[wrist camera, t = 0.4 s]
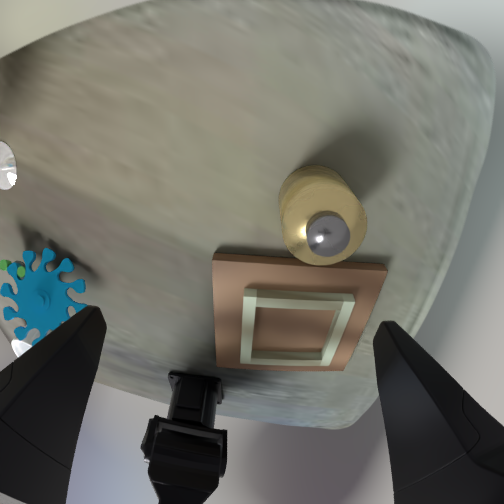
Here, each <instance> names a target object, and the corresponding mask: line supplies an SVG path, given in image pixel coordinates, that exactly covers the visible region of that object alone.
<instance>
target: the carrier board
mask: <svg viewBox="0 0 504 504" xmlns="http://www.w3.org/2000/svg"><path fill="white" fill-rule="evenodd" d="M212 272H213V302H214V325H215V345H216V363H217V367H224V368H237V369H252V370H273V371H343V370H344V368H345V367H346V365H347V363H348V361H349V359H350V357H351V355H352V353H353V351H354V349H355V347H356V345H357V342H358V340H359V338H360V336H361V334H362V332H363V330H364V327H365V325H366V323H367V321H368V319H369V316H370V314H371V312H372V309H373V307H374V305H375V302H376V300H377V298H378V295H379V293H380V290H381V288H382V285H383V283H384V280H385V278H386V275H387V272H388V270H387V269H386V267H385V265H384V264H375V263H360V262H344V261H340V262H337V263H334V264H330V265H312V264H308V263H305V262H303V261H301V260H299V259H298V258H283V257H268V256H253V255H239V254H224V253H214V255H213V259H212Z"/></svg>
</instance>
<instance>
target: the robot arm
mask: <svg viewBox="0 0 504 504" xmlns="http://www.w3.org/2000/svg"><path fill="white" fill-rule="evenodd" d="M106 329H107V326H106V322H105V320H104V317H103V315H102V312H101V310H100V308H99V307H97V306H91V305H88V306H86V307H84V308H83V309H82V310H80V311H79V312H77V313H76V314H75V315H73V316H72V317H71V318H69V319H68V320H67V321H65V322H64V323H62V324H61V325H60V326H58V327H57V328H56V329H54V330H53V331H52V332H50V333H49V334H48V335H46V336H45V337H44V338H43V339H41V340H40V341H39V342H37V343H36V344H35V345H33V346H32V347H31V348H30V349H28V350H27V351H26V352H24V353H23V354H22V355H21V356H19V357H18V358H17V359H16V360H14V362H12V363H11V364H9V365H8V366H7V367H6V368H4V369H3V370H2V371H1V372H0V504H66V498H67V491H68V485H69V479H70V474H71V468H72V462H73V458H74V453H75V449H76V444H77V440H78V436H79V432H80V428H81V424H82V420H83V416H84V413H85V409H86V405H87V402H88V398H89V395H90V392H91V388H92V385H93V382H94V379H95V376H96V372H97V369H98V365H99V360H100V356H101V351H102V347H103V343H104V338H105V334H106ZM373 349H374V357H375V367H376V377H377V386H378V391H379V396H380V401H381V406H382V412H383V417H384V423H385V429H386V436H387V442H388V449H389V455H390V464H391V472H392V481H393V491H394V504H504V426H503V425H502V424H500V423H499V422H498V421H497V420H496V419H495V418H493V417H492V416H491V415H490V414H489V413H488V412H487V411H486V410H485V409H484V408H482V407H481V406H480V405H479V404H478V403H477V402H476V401H475V400H474V399H473V398H472V397H471V396H470V395H469V394H468V393H467V392H466V391H465V390H463V388H462V387H461V386H460V385H459V384H458V382H457V381H456V380H455V379H454V378H453V377H451V375H450V374H449V373H447V371H445V369H444V368H443V367H442V366H441V365H440V364H439V363H438V362H437V361H436V360H435V359H433V357H432V356H430V355H429V354H428V353H427V352H426V351H425V350H424V349H423V348H422V347H421V346H420V345H419V344H418V343H417V342H416V341H415V340H414V339H413V338H412V337H411V336H410V335H409V334H408V333H407V332H406V331H404V330H403V329H402V328H401V327H400V326H399V325H398V324H397V323H396V322H395V321H382V322H381V324H380V325H379V328H378V330H377V332H376V334H375V336H374V339H373ZM168 379H169V382H170V385H171V388H172V391H173V393H172V398H171V402H170V407H169V411H168V416H167V419H166V418H162V417H159V416H157V415H155V416H154V418H153V419H149V423H148V427H147V431H146V433H145V436H144V438H143V441H142V444H141V450H142V451H143V453H144V461H145V462H146V463H149V467H148V475H149V479H150V481H151V484H152V486H153V488H154V491H155V493H156V495H157V497H158V499H159V503H158V504H203V503H204V502H205V501H206V500H207V498H208V497H209V496H210V495H211V494H212V493H213V492H214V491H215V489H216V488H217V487H218V484H219V477H223V476H224V474H225V469H226V464H227V430H224V429H223V430H220V429H214V421H215V413H216V405H217V404H221V403H222V394H221V380H220V379H218V378H210V377H200V376H192V375H184V374H177V373H169V374H168Z"/></svg>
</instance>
